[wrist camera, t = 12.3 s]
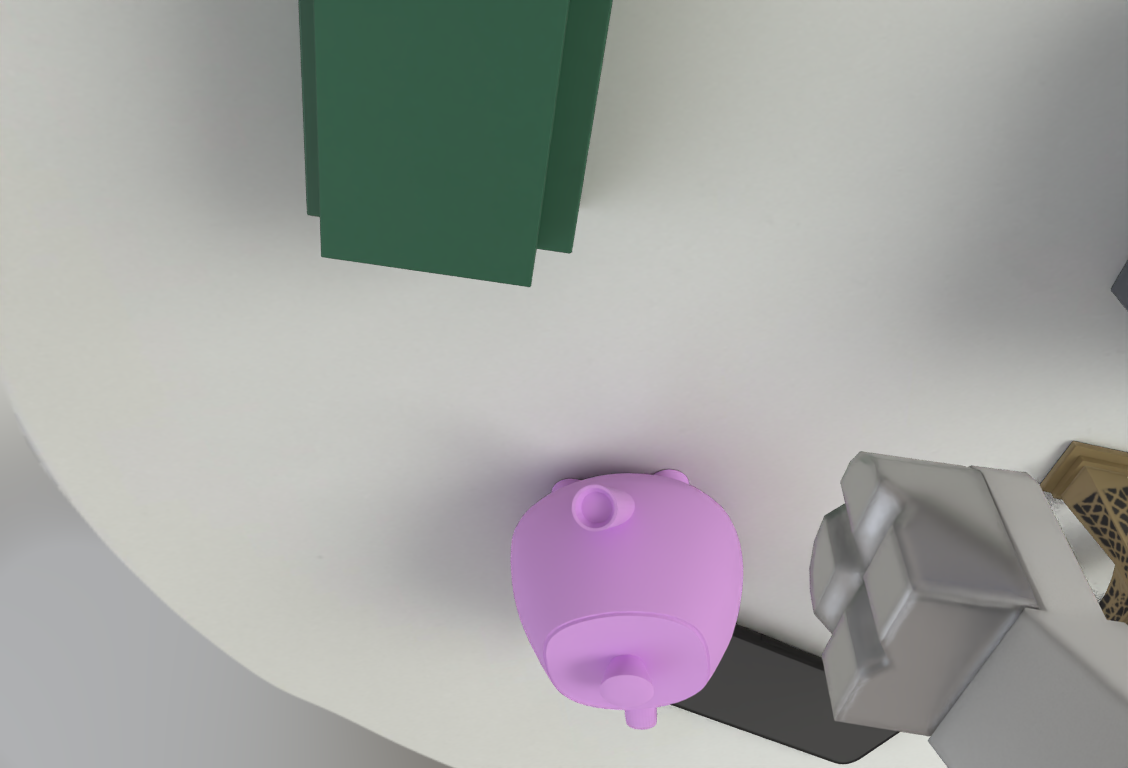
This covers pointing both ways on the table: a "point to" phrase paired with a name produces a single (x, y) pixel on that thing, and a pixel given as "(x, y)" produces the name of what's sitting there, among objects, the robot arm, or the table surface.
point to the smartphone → (780, 699)
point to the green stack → (568, 128)
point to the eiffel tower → (1098, 509)
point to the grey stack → (1122, 287)
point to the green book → (436, 131)
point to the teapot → (627, 589)
